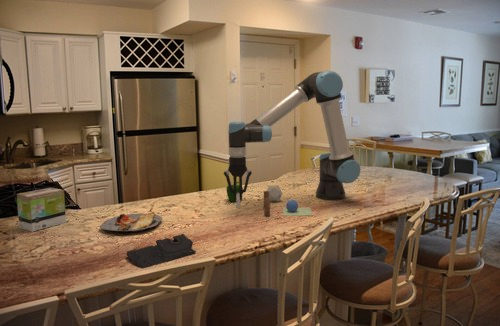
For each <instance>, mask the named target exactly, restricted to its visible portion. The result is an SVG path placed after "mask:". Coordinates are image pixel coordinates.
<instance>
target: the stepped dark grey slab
mask: <svg viewBox="0 0 500 326" xmlns="http://www.w3.org/2000/svg"><path fill="white" fill-rule="evenodd" d="M172 238H173V239H172ZM172 238H168V237H165V238H164V239H161V238H160V239H156V241H155V244H156V245H147V246H144V247H141V248H137V249H135V248H134V249H131V250H127V251H126V257H128V259H129V260H130V261H132V264H134V265H135V266H136V267H138V268H141V269H146V268H151V267H153V266H157V265H161V264H165V263H166V264H167V263H168V262H172V261H176V260H179V259H182V258H186V257H191V256H193V255H196V254H197V250H194V249H193V244H194V242H193V241H192V240H191V239H190V238H189V237H187V236H186V235H185V234H184V233H180V234H179V235H174V236H172Z"/></svg>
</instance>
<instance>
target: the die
mask: <svg viewBox="0 0 500 326" xmlns="http://www.w3.org/2000/svg"><path fill="white" fill-rule="evenodd" d="M266 191H269V198H270V203H271V202H272V203H275V202H276V203H277V202H280V200H281V197H282V194H283V191H282V189H281V188H280V186H279V185H278V184H277V185H268V187H267V189H266Z"/></svg>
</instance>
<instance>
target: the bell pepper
mask: <svg viewBox="0 0 500 326" xmlns="http://www.w3.org/2000/svg"><path fill="white" fill-rule="evenodd" d="M231 185H232V189H233V190H234V184H231ZM225 189H226V195H227V199H228V200H229V202H236V201H234V194H233V193H231V192H230V190H229V187H228V185H227V187H226V188H225ZM243 189H244V187H242V190H243ZM237 193H239V181H237ZM243 194H244V193H242V195H243Z"/></svg>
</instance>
